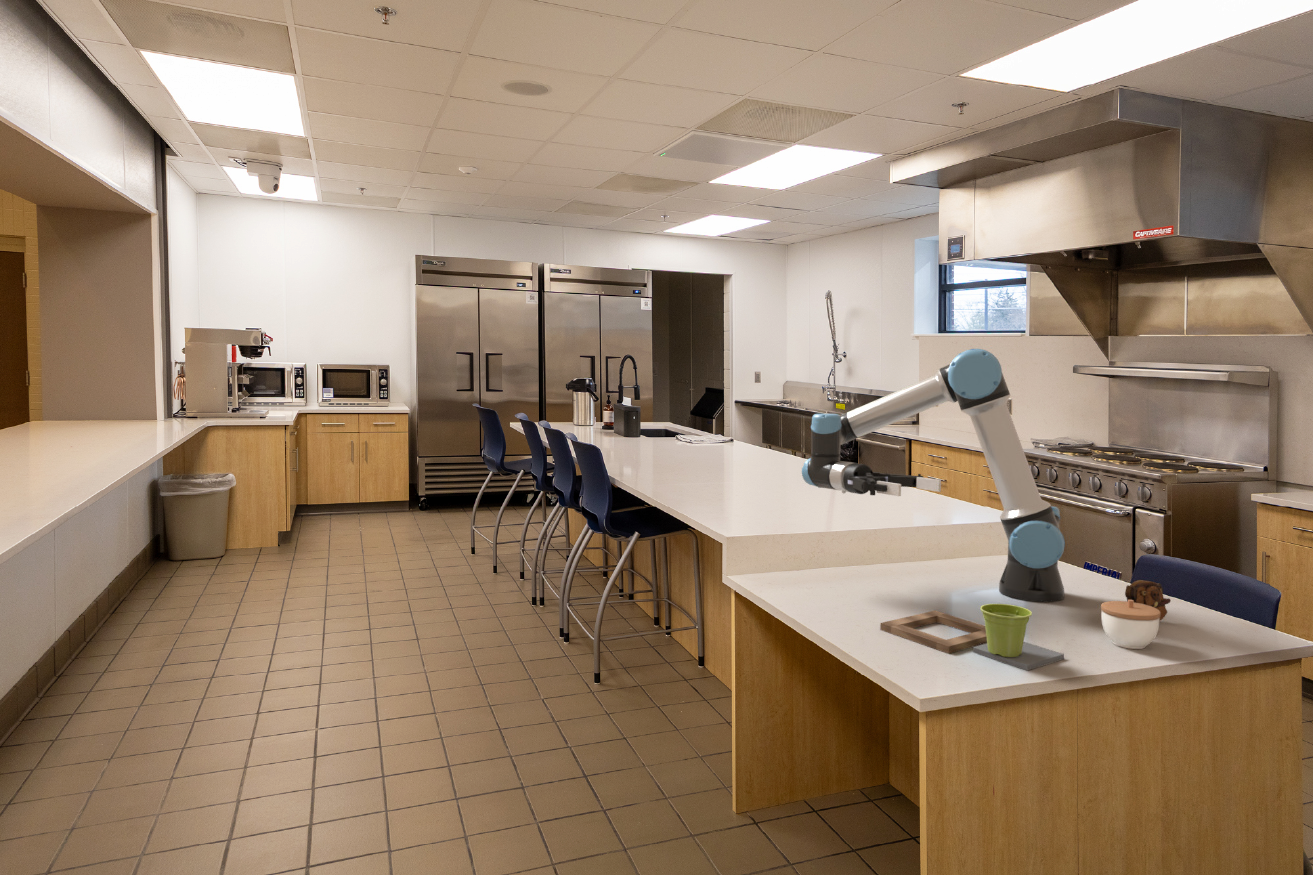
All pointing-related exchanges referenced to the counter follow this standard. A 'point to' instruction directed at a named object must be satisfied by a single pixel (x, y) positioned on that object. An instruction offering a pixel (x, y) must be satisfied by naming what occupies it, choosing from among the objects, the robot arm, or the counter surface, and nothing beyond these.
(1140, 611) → the lidded jar
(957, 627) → the walnut frame
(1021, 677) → the counter surface
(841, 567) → the counter surface
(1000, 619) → the plant pot
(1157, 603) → the wooden carving
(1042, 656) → the charcoal mat
